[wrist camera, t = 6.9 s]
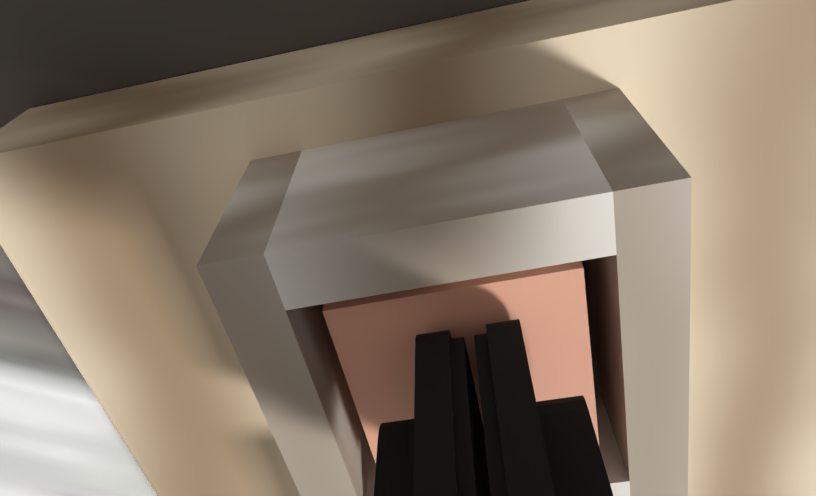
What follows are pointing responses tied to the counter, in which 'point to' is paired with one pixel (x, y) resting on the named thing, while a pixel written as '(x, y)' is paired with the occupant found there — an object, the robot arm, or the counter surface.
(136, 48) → the counter surface
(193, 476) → the key panel
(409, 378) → the terracotta key
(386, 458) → the robot arm
